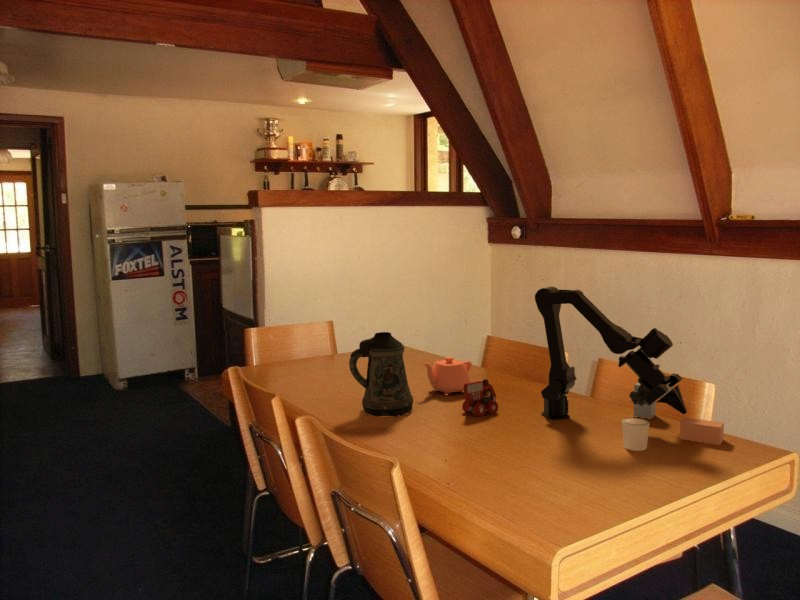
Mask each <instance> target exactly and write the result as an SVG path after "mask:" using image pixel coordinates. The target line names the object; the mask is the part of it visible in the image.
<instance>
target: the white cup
mask: <svg viewBox="0 0 800 600" xmlns="http://www.w3.org/2000/svg"><path fill="white" fill-rule="evenodd" d="M650 425H651V424H650V422H649V421H648V419H643V418H636V417H629V418H627V417H626V418H624V419H622V420H621V426H622V427H621V428H622V438H623V439H622V440H623V441H622V442H623V448H624V449H626V450H629V451H634V452H636V451H637V452H641V451H645V450H646V449H647V447H648V441H649V440H648V439H649V431H650Z"/></svg>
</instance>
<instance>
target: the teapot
mask: <svg viewBox="0 0 800 600" xmlns="http://www.w3.org/2000/svg"><path fill="white" fill-rule="evenodd" d="M422 365H424V366H425V367H426V373H427V379H428V380H429V383H430V385H431V387H432V388H433V389H434V391H435V390H437V391H440V392H443V395H444V394H450V393H458V392H463V391H464V384H465V383H470V381H471V380H470V376H469V373H470V370H471V368H472V362H471V361H470V360H465V361H460V360H456V359H454V357H452V356H447V357H445V359H443V360H436V361H435V362H434V364H433V366H431V364H430V363H428V362H422Z"/></svg>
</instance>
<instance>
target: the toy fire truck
mask: <svg viewBox="0 0 800 600" xmlns="http://www.w3.org/2000/svg"><path fill="white" fill-rule="evenodd" d="M461 407H462V408H461V409H462V411H463V412H464V413H466V414H470V412H471V413H473V414H474V415H475V417H480V418H482V417H483V416H484V415H485V414H486V412H487V413H488V414H493V413H494V414H495V413H497V412H498V410H499V403H498V402H497V394H496V391H495V389H494V387H493V385H492V384H490V381H489V380H488V379H487V378H484V379H482V380H476V381H471V382H470V383H465V384H464V402H462V406H461ZM494 414H493V415H494Z"/></svg>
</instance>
